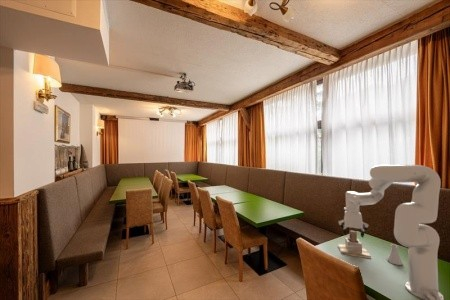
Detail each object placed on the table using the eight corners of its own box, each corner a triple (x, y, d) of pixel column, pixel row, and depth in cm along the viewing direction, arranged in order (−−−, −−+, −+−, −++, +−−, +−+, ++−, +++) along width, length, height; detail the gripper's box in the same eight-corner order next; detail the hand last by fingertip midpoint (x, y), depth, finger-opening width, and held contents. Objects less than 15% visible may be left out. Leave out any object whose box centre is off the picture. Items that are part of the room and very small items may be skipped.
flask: (405, 266, 111) (405, 249, 112) (391, 264, 113) (391, 247, 113) (397, 259, 118) (397, 243, 119) (384, 258, 120) (383, 242, 120)
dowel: (357, 251, 126) (357, 233, 126) (350, 250, 127) (350, 232, 127) (355, 248, 130) (355, 230, 130) (348, 247, 131) (348, 229, 131)
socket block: (370, 258, 120) (370, 246, 120) (341, 253, 125) (341, 242, 126) (364, 249, 131) (364, 238, 131) (337, 245, 137) (337, 235, 137)
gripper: (339, 210, 129) (340, 236, 128) (369, 212, 123) (371, 239, 122) (336, 207, 136) (337, 232, 135) (365, 209, 130) (367, 235, 129)
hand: (353, 235), depth 128 cm, fingers open, 9 cm apart
